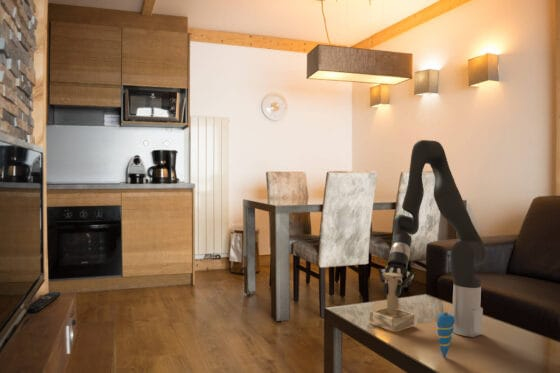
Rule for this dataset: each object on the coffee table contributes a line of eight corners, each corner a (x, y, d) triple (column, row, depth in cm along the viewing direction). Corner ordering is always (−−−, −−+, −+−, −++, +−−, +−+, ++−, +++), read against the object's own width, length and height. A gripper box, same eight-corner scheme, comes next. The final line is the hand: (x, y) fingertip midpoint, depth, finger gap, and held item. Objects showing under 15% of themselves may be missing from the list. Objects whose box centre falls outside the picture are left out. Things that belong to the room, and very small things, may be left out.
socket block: (414, 326, 172) (414, 313, 172) (395, 332, 165) (395, 319, 165) (388, 318, 181) (389, 306, 181) (369, 323, 174) (370, 311, 174)
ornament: (449, 354, 145) (451, 306, 145) (456, 360, 140) (457, 311, 140) (433, 353, 145) (434, 306, 145) (439, 360, 140) (441, 311, 140)
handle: (382, 311, 176) (383, 272, 175) (399, 312, 175) (400, 273, 175) (384, 315, 171) (385, 275, 170) (401, 316, 170) (403, 275, 170)
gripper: (379, 249, 182) (370, 286, 171) (416, 252, 176) (409, 291, 165) (382, 260, 187) (374, 297, 176) (418, 264, 181) (411, 302, 170)
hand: (391, 294), depth 171 cm, fingers closed on handle, 3 cm apart
